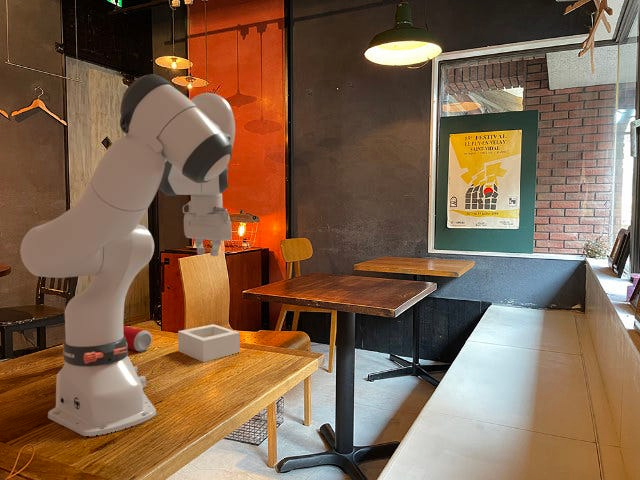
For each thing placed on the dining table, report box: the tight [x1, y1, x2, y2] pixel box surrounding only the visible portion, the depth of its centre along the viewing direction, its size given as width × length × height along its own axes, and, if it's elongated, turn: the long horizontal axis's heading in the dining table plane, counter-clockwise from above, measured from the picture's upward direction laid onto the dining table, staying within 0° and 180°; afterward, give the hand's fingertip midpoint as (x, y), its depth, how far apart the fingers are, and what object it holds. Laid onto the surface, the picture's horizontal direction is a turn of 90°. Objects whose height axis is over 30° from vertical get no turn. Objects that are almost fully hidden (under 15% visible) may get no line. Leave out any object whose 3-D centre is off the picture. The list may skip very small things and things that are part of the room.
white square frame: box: [177, 323, 241, 363], centre depth 137 cm, size 14×12×6 cm
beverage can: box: [123, 325, 153, 353], centre depth 140 cm, size 6×6×12 cm
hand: (207, 255), depth 135 cm, fingers open, 6 cm apart
